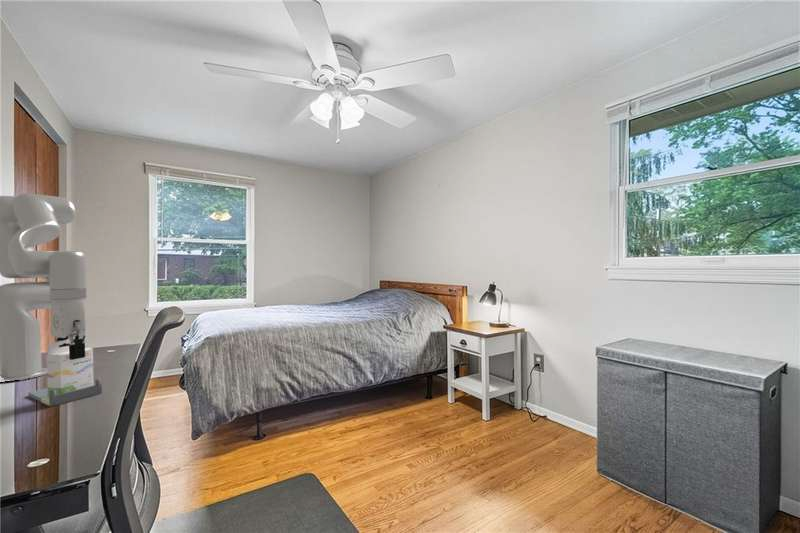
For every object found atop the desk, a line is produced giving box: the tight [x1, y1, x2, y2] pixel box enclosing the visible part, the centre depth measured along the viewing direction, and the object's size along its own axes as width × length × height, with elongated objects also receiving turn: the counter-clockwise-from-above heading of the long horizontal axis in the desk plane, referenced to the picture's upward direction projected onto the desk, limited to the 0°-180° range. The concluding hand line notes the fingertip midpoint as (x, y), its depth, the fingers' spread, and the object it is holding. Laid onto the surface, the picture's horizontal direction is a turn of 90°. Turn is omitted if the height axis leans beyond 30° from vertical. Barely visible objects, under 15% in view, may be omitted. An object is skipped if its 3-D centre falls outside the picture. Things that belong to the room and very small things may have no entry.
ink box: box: [46, 337, 94, 398], centre depth 100 cm, size 9×5×15 cm, turn 166°
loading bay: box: [27, 378, 103, 407], centre depth 102 cm, size 17×11×4 cm, turn 60°
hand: (70, 356), depth 100 cm, fingers open, 9 cm apart
